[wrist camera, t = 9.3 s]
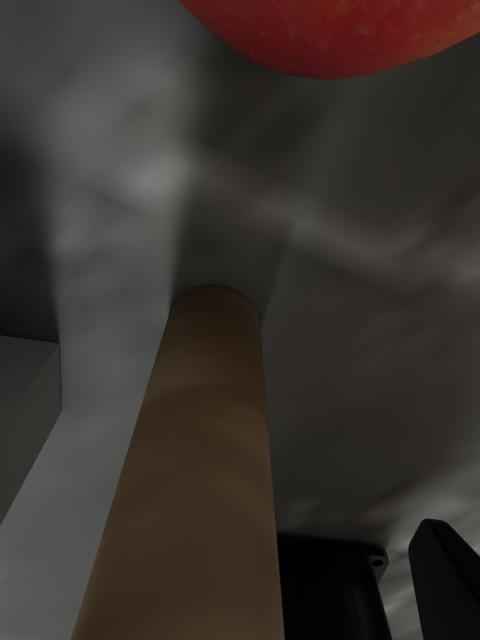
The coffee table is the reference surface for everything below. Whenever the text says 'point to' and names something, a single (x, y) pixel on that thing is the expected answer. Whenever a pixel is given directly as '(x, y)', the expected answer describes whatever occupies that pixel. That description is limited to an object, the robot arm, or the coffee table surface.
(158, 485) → the dowel
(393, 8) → the apple
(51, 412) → the wall
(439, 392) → the coffee table surface
